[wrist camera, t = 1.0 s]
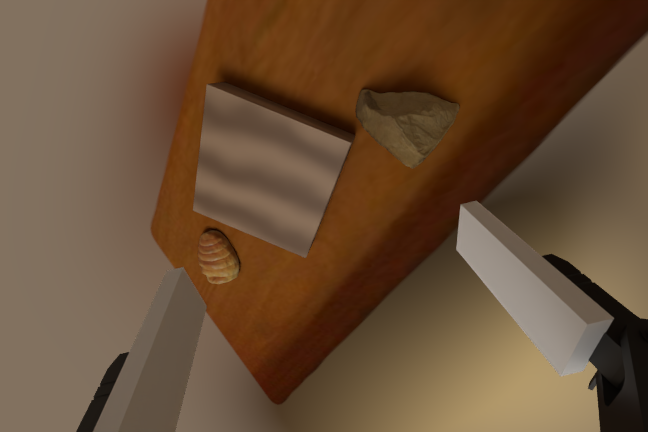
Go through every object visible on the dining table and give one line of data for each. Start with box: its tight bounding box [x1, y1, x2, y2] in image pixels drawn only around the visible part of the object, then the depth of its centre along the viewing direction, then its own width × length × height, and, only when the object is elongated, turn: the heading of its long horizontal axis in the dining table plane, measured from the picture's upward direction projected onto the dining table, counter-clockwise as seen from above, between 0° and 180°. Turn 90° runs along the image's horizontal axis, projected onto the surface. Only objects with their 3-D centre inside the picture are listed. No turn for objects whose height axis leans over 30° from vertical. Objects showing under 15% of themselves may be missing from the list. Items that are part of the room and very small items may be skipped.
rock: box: [356, 89, 460, 168], centre depth 31 cm, size 11×9×10 cm
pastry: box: [198, 230, 239, 284], centre depth 50 cm, size 9×7×4 cm
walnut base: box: [193, 82, 355, 258], centre depth 40 cm, size 18×18×4 cm
